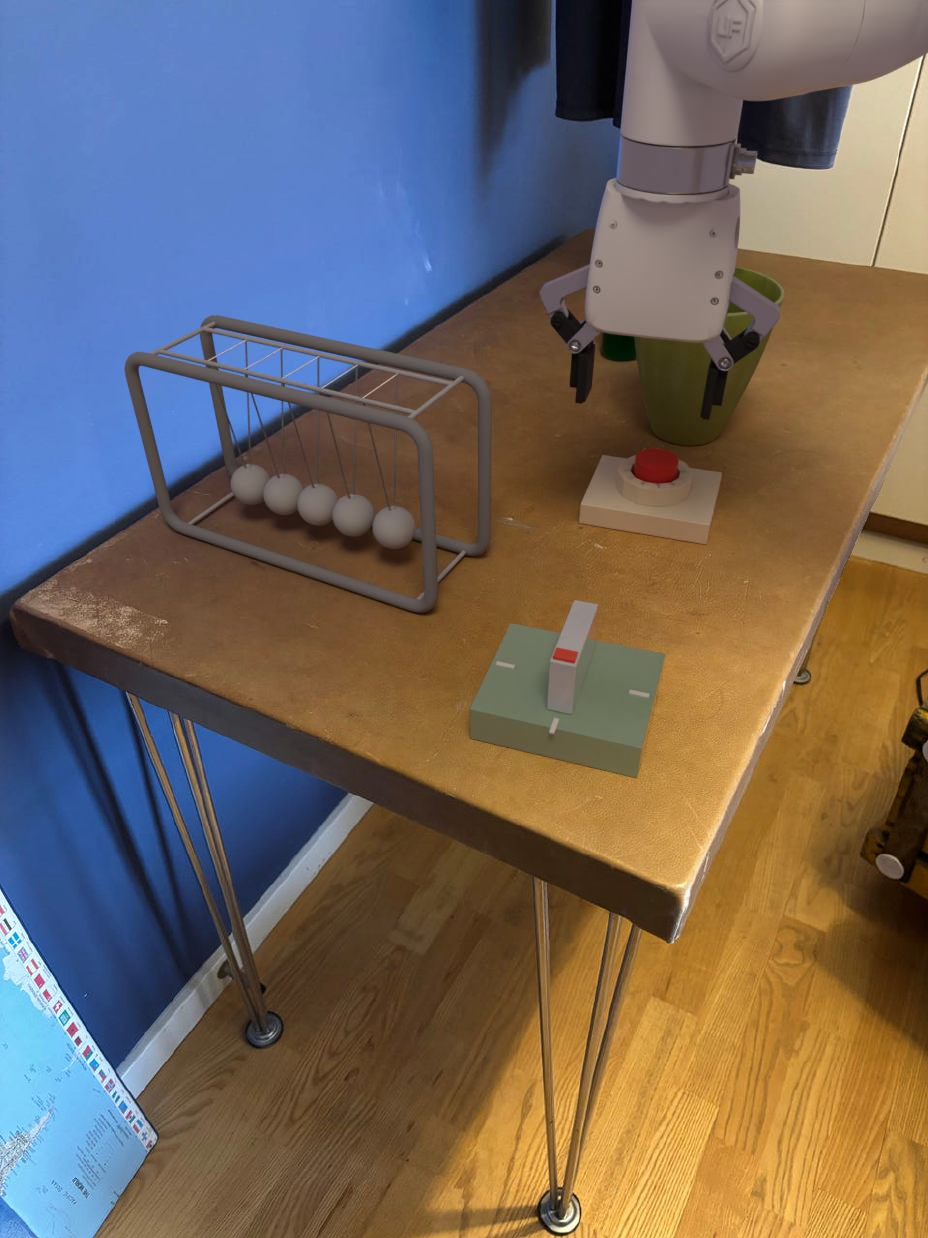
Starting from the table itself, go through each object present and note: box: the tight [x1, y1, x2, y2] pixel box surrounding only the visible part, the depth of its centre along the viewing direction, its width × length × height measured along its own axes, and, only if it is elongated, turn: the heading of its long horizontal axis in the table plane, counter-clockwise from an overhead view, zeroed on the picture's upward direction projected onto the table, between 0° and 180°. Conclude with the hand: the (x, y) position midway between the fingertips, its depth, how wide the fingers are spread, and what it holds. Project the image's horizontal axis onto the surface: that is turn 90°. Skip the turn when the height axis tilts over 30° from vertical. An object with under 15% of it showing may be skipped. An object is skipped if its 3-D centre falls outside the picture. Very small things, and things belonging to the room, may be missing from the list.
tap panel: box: [469, 622, 666, 779], centre depth 66 cm, size 12×11×3 cm
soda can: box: [600, 332, 637, 362], centre depth 114 cm, size 5×5×12 cm
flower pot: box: [635, 266, 785, 447], centre depth 96 cm, size 15×15×16 cm
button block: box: [578, 454, 723, 545], centre depth 88 cm, size 12×10×4 cm
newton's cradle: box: [124, 314, 493, 614], centre depth 79 cm, size 30×10×18 cm, turn 61°
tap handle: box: [547, 599, 599, 714], centre depth 64 cm, size 7×2×5 cm, turn 161°
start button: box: [634, 448, 680, 484], centre depth 86 cm, size 4×4×2 cm
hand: (644, 404), depth 71 cm, fingers open, 9 cm apart
